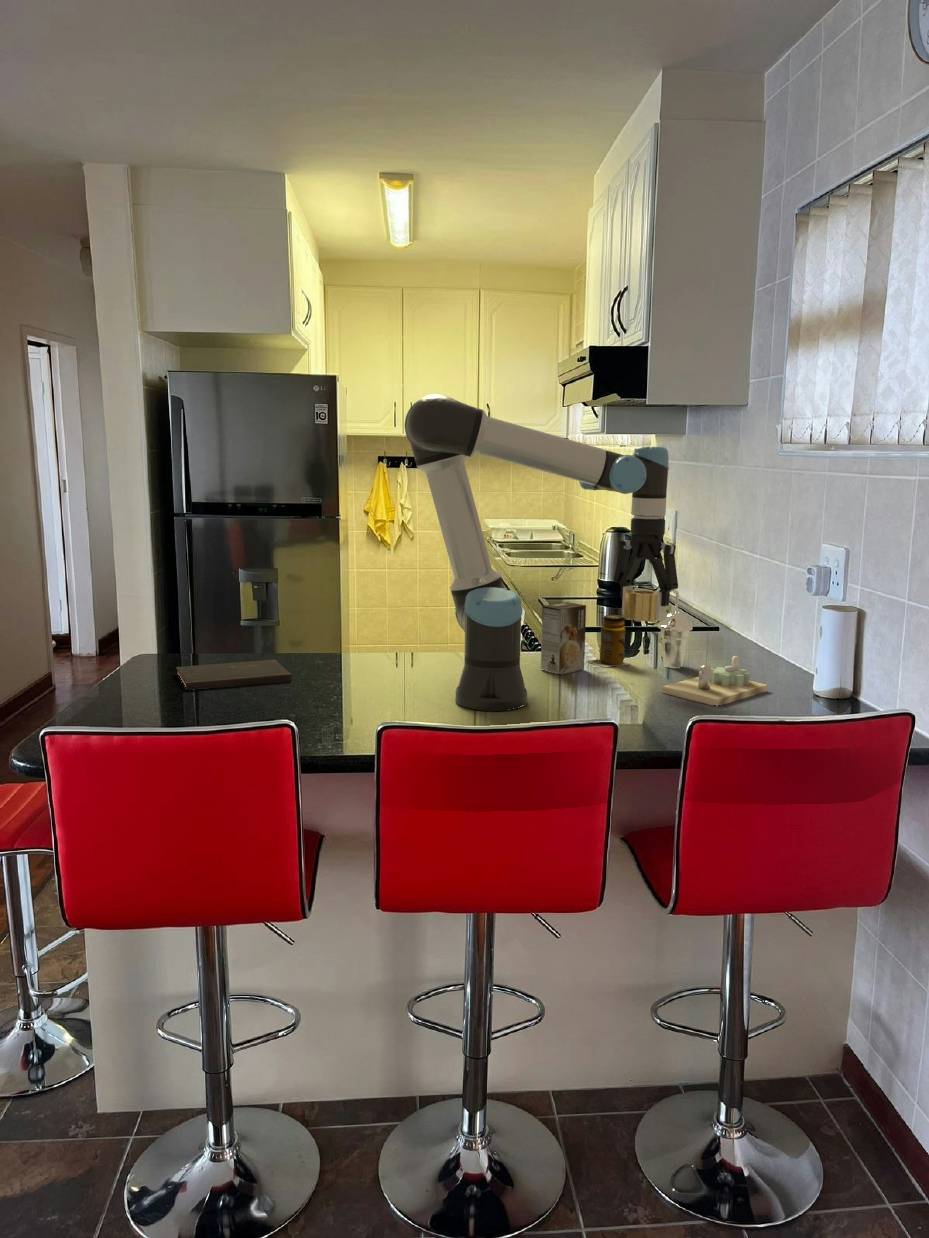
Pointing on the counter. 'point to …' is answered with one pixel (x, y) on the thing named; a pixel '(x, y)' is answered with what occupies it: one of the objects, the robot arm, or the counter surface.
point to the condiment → (611, 642)
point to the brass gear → (640, 605)
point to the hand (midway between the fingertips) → (643, 617)
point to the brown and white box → (563, 637)
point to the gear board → (713, 691)
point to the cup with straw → (674, 636)
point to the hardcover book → (233, 674)
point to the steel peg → (704, 677)
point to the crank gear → (730, 675)
